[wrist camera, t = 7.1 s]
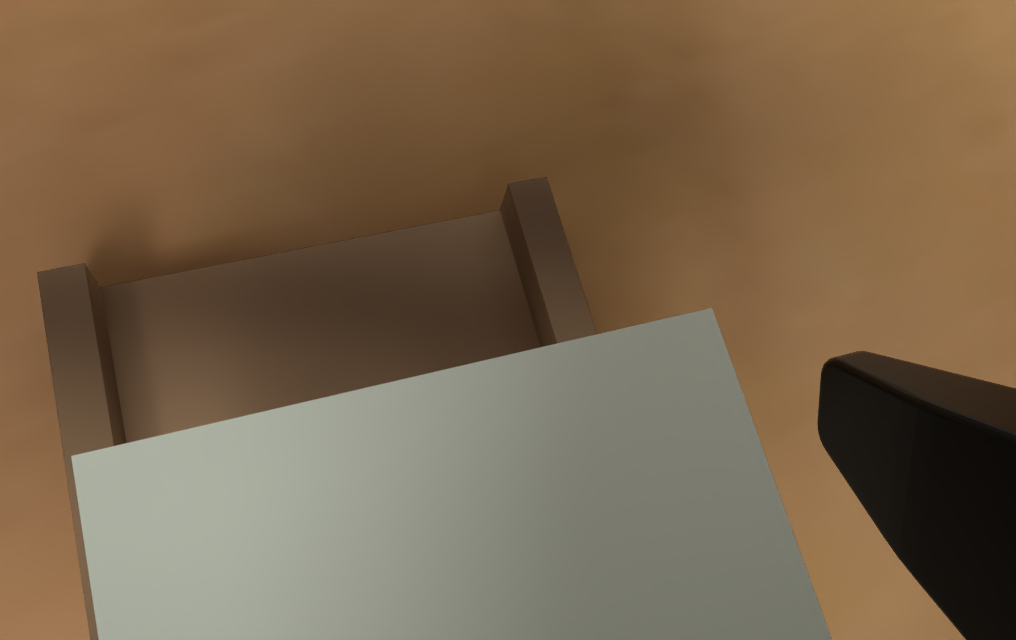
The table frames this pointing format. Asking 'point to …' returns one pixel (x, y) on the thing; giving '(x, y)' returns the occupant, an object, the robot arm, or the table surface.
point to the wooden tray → (303, 325)
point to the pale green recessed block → (462, 508)
